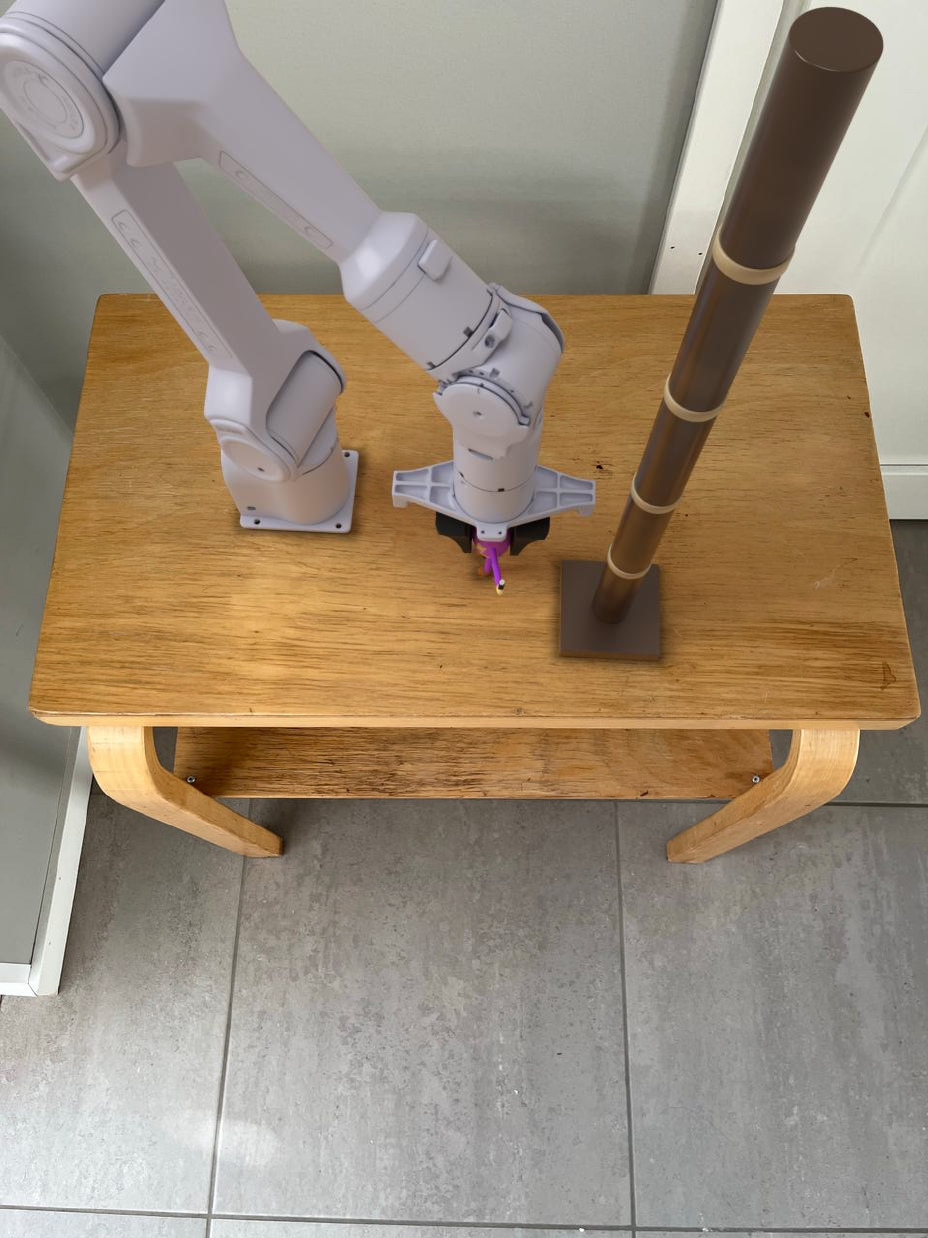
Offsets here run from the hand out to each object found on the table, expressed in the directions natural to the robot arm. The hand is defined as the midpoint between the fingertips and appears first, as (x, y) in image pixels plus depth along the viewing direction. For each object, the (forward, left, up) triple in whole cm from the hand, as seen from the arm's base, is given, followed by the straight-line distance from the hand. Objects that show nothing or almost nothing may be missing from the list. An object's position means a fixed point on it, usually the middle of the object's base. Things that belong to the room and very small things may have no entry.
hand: (490, 543), depth 74 cm
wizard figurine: (0, 0, -4) cm, 4 cm away
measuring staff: (+10, -4, -4) cm, 11 cm away
